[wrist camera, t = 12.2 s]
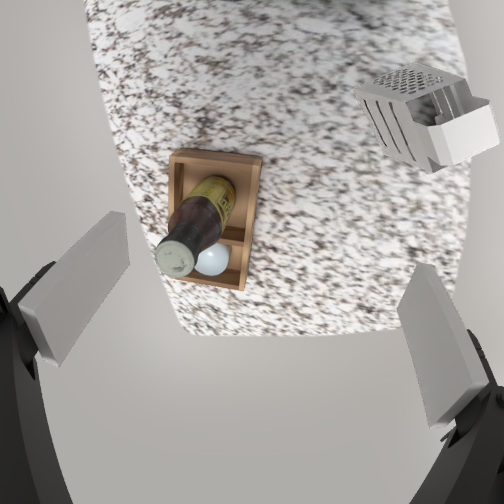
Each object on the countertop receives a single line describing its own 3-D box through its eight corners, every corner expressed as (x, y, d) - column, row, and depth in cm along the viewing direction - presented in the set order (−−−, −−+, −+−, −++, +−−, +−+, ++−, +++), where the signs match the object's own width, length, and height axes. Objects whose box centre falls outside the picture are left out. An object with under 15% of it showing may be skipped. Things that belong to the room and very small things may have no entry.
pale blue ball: (195, 228, 49) (189, 239, 47) (233, 234, 49) (228, 245, 46) (195, 260, 53) (189, 272, 50) (230, 266, 52) (226, 278, 49)
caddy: (181, 147, 44) (169, 155, 39) (262, 156, 43) (259, 166, 39) (179, 261, 54) (170, 278, 50) (247, 272, 54) (243, 291, 49)
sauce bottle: (232, 217, 48) (200, 300, 31) (193, 206, 47) (141, 282, 30) (243, 177, 44) (212, 245, 27) (201, 166, 44) (146, 225, 27)
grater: (351, 88, 36) (398, 96, 19) (414, 62, 33) (494, 59, 16) (383, 154, 41) (441, 210, 24) (442, 128, 37) (524, 168, 20)
